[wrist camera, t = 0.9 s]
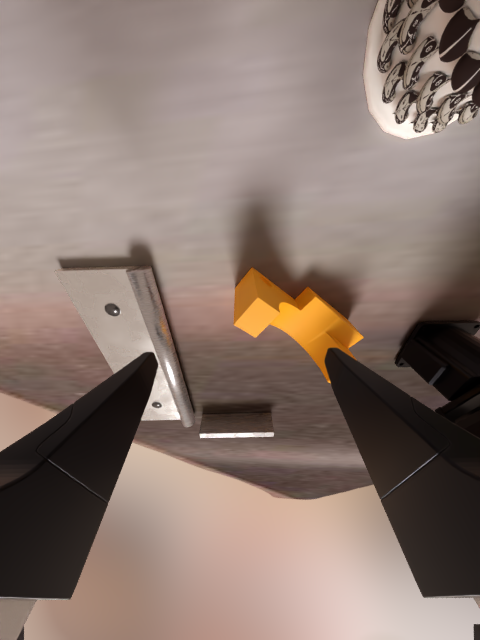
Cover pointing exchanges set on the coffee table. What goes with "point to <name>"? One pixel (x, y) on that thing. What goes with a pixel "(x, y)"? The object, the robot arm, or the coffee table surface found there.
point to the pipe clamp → (292, 317)
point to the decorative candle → (423, 65)
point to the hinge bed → (146, 343)
